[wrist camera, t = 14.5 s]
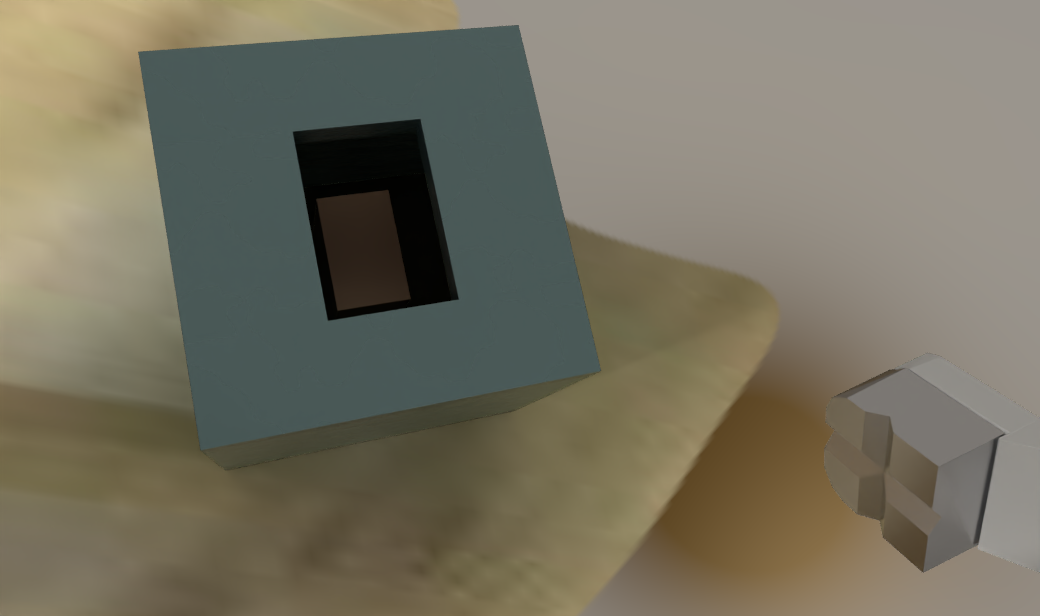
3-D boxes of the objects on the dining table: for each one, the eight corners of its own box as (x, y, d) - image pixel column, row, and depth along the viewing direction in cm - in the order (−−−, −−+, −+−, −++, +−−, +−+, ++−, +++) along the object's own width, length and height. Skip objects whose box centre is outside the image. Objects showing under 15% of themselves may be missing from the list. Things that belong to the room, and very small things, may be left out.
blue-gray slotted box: (514, 410, 38) (600, 371, 28) (225, 470, 34) (200, 450, 24) (457, 152, 40) (518, 25, 30) (179, 183, 36) (138, 51, 26)
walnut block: (386, 340, 37) (410, 298, 30) (327, 350, 36) (337, 310, 29) (368, 250, 38) (388, 189, 31) (310, 259, 37) (316, 198, 30)
